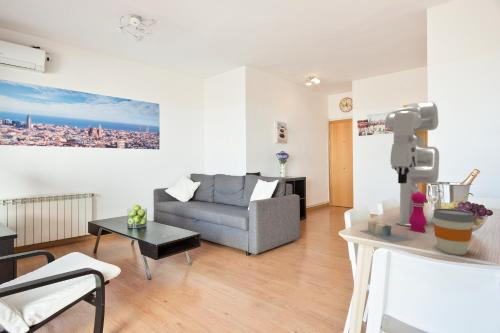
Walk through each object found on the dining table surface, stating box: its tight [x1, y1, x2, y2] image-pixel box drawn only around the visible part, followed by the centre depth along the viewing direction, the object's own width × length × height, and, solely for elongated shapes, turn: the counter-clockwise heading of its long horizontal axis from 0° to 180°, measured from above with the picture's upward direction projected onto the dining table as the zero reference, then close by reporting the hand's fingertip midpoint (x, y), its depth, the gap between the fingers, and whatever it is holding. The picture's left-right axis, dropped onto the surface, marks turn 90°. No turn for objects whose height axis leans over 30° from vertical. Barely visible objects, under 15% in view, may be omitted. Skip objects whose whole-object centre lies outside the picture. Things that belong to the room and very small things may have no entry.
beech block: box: [367, 220, 392, 236], centre depth 130 cm, size 4×4×9 cm
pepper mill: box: [409, 188, 427, 234], centre depth 136 cm, size 7×7×20 cm
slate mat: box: [359, 229, 414, 244], centre depth 127 cm, size 12×19×1 cm, turn 21°
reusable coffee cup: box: [432, 208, 475, 256], centre depth 108 cm, size 13×13×15 cm
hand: (402, 183), depth 123 cm, fingers closed
